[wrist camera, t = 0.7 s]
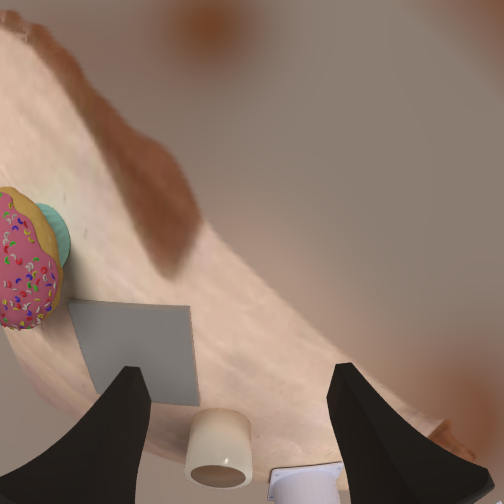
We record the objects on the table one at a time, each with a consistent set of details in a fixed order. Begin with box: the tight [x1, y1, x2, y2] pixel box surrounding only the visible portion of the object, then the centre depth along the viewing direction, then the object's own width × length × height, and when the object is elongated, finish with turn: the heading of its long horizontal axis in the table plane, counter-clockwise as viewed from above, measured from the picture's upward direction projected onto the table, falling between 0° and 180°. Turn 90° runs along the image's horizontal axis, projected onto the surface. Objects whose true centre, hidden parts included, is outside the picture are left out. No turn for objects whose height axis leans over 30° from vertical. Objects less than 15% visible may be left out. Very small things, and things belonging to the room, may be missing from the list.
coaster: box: [67, 299, 200, 406], centre depth 20 cm, size 9×9×1 cm
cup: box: [184, 408, 252, 490], centre depth 21 cm, size 5×5×6 cm
